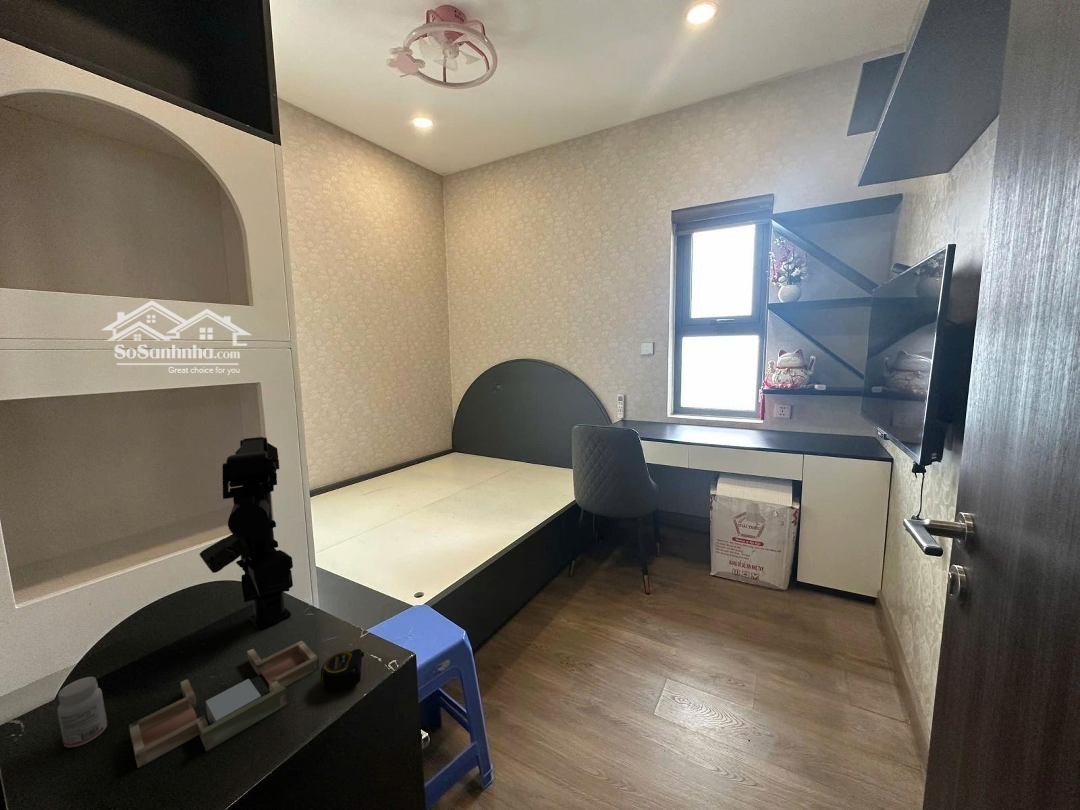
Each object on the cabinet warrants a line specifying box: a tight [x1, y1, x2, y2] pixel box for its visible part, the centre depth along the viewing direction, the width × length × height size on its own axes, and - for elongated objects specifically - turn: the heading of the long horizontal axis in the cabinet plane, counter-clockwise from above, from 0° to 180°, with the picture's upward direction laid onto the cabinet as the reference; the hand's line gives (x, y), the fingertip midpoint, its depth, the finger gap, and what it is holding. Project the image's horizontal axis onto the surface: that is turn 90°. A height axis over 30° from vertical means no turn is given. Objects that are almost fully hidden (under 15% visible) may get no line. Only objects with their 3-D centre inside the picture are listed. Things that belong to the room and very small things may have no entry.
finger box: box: [128, 640, 320, 769], centre depth 73 cm, size 18×25×3 cm
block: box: [205, 678, 262, 725], centre depth 69 cm, size 6×6×4 cm
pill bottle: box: [57, 676, 108, 748], centre depth 66 cm, size 5×5×8 cm
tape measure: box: [320, 648, 365, 692], centre depth 76 cm, size 7×7×4 cm
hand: (262, 594), depth 83 cm, fingers closed
